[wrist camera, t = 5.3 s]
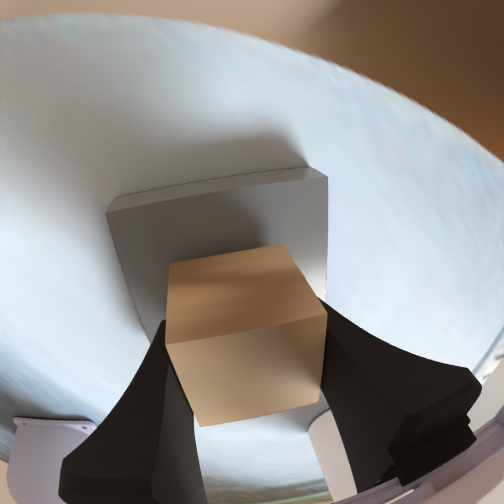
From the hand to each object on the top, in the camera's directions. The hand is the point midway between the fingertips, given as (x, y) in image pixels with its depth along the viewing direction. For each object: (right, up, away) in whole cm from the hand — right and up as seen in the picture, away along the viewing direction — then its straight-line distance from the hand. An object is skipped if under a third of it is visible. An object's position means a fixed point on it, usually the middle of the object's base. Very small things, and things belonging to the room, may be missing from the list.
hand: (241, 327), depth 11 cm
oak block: (0, +1, +2) cm, 2 cm away
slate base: (-1, +2, +4) cm, 5 cm away
